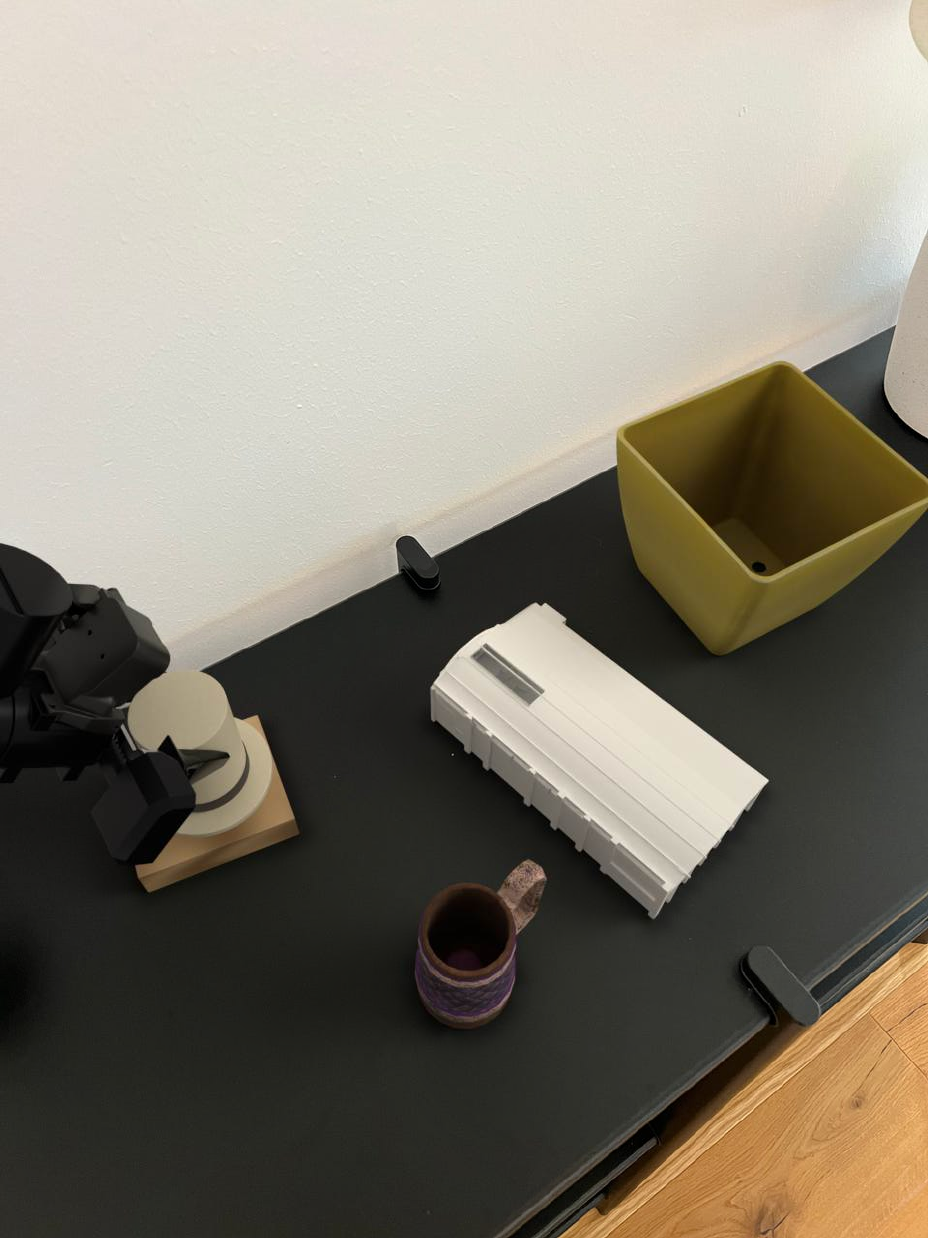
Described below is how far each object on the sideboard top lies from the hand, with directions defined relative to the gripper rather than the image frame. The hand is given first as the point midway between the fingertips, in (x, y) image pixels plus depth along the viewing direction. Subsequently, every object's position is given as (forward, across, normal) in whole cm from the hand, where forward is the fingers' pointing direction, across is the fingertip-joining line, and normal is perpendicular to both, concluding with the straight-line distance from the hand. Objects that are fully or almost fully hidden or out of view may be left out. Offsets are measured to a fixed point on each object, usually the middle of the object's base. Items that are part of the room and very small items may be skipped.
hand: (205, 723), depth 67 cm
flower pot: (+43, -6, -26) cm, 50 cm away
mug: (+15, -22, +2) cm, 27 cm away
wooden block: (+7, +1, +10) cm, 13 cm away
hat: (+4, 0, +6) cm, 7 cm away
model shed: (+28, -13, -10) cm, 32 cm away
